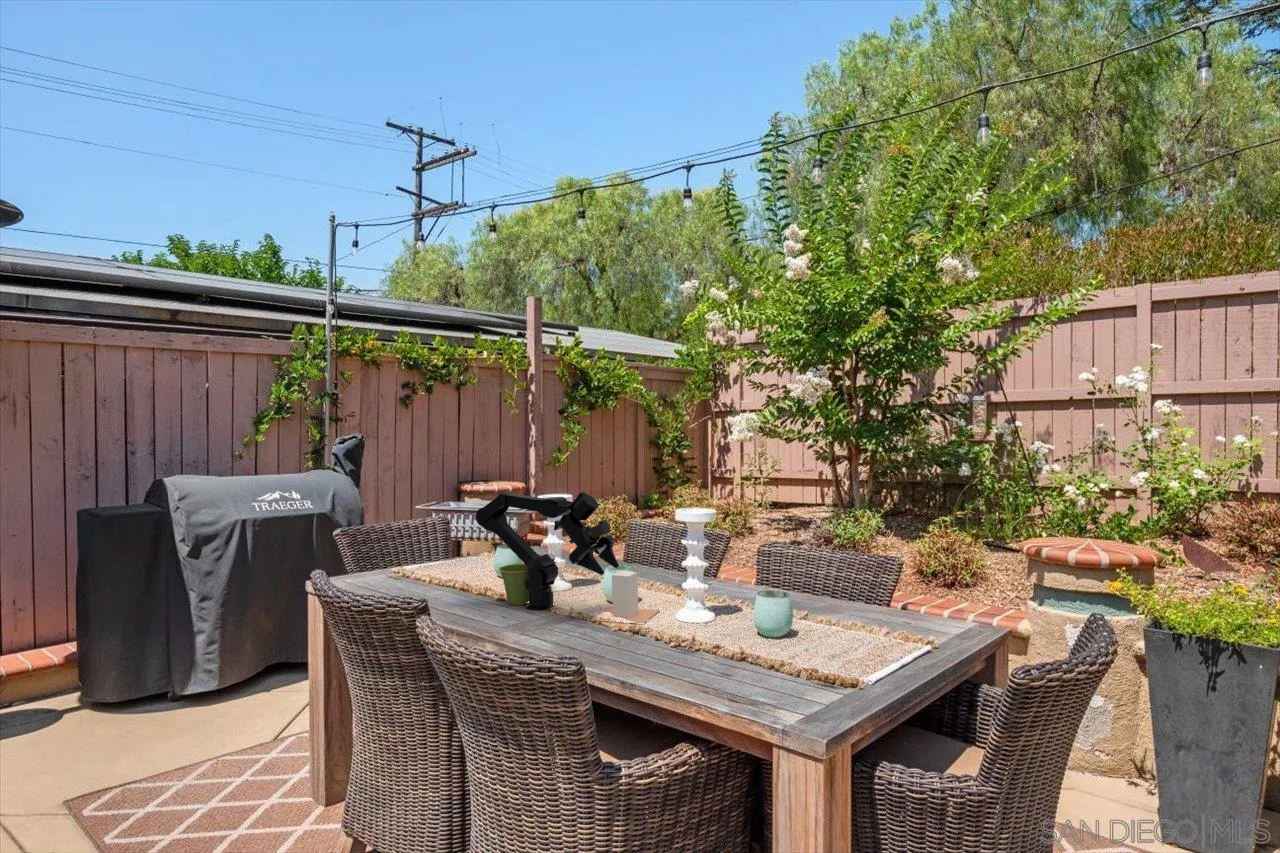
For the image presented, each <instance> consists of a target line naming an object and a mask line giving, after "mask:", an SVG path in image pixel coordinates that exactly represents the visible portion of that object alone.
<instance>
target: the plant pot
mask: <svg viewBox="0 0 1280 853" xmlns="http://www.w3.org/2000/svg"><path fill="white" fill-rule="evenodd" d="M498 571H499V572H500V573H501V577H502V578H501V579H502V580H503V585H504V590H505V595H506V599H507V603H508V605H512V606H523V604H524V605H526V604H527V603H526V602H528V601H529V590H527V589H526V587H525V584H524V583H525V582H526V581H527V579H528V578H529V577H530V575H529V574H528V571H527V567H526V565H525V564H524V563H523V562H522V563H512V564H511V563H510V564H506V565H503V566H500V567H499V568H498ZM525 603H526V604H525Z"/></svg>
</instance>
